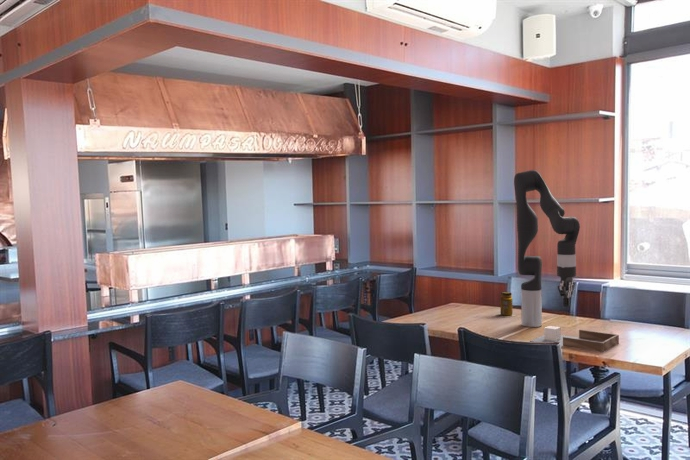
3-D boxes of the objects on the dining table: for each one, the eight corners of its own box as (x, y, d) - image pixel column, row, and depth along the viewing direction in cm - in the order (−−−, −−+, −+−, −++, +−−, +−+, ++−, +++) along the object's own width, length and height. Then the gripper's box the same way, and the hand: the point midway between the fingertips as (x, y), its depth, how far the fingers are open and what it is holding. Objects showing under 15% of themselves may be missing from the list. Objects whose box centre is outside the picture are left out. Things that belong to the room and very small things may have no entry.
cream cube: (549, 337, 252) (549, 325, 252) (560, 338, 248) (560, 327, 248) (544, 339, 248) (544, 327, 248) (555, 341, 245) (555, 329, 244)
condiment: (515, 315, 306) (515, 292, 305) (507, 317, 300) (507, 294, 299) (503, 313, 311) (503, 291, 310) (494, 316, 305) (494, 293, 304)
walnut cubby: (579, 337, 250) (579, 329, 250) (618, 343, 239) (618, 334, 239) (562, 345, 237) (562, 337, 237) (603, 352, 226) (603, 343, 226)
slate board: (548, 335, 260) (548, 333, 259) (619, 345, 239) (619, 343, 239) (529, 343, 246) (529, 340, 246) (603, 354, 226) (603, 352, 226)
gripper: (563, 262, 251) (564, 302, 252) (551, 266, 241) (551, 307, 242) (581, 263, 246) (581, 304, 247) (569, 267, 236) (569, 310, 237)
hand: (566, 306), depth 244 cm, fingers closed
